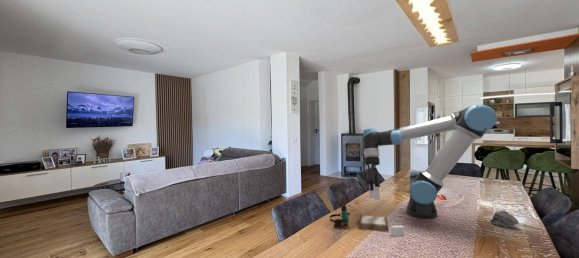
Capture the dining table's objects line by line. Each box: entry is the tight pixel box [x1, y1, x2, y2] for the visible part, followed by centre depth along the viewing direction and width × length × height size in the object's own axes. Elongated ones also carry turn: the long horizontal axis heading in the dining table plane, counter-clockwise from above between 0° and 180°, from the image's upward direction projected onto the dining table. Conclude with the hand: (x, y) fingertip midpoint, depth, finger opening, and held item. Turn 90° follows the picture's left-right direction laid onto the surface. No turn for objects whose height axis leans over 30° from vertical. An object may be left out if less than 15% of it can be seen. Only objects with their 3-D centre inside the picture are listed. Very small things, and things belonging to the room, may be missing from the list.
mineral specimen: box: [489, 210, 520, 228], centre depth 122 cm, size 10×8×10 cm
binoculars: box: [329, 202, 351, 229], centre depth 124 cm, size 9×11×10 cm
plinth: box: [359, 214, 389, 232], centre depth 124 cm, size 13×12×3 cm
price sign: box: [390, 225, 405, 237], centre depth 113 cm, size 5×2×4 cm, turn 93°
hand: (375, 198), depth 127 cm, fingers open, 13 cm apart
